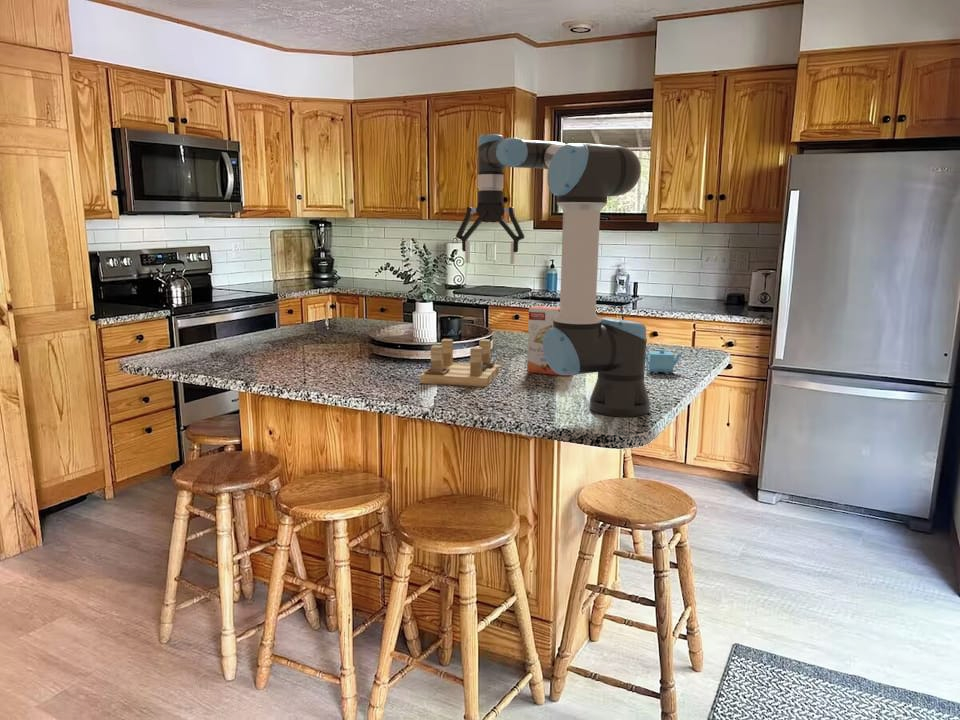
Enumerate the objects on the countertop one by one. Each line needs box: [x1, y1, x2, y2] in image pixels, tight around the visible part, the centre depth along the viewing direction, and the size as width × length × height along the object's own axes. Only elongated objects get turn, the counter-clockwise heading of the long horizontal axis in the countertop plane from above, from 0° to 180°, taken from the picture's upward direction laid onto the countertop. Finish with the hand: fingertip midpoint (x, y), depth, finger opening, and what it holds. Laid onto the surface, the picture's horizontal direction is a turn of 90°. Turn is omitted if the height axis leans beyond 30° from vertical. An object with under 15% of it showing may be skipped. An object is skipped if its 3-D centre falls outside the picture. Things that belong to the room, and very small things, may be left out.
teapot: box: [645, 348, 685, 375], centre depth 227 cm, size 12×6×8 cm, turn 80°
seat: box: [419, 338, 500, 388], centre depth 218 cm, size 20×20×10 cm
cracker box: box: [526, 305, 571, 377], centre depth 224 cm, size 14×6×21 cm, turn 68°
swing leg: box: [478, 338, 492, 370], centre depth 218 cm, size 11×3×8 cm, turn 167°
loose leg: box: [430, 344, 443, 372], centre depth 213 cm, size 3×3×8 cm
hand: (489, 263), depth 213 cm, fingers open, 13 cm apart
